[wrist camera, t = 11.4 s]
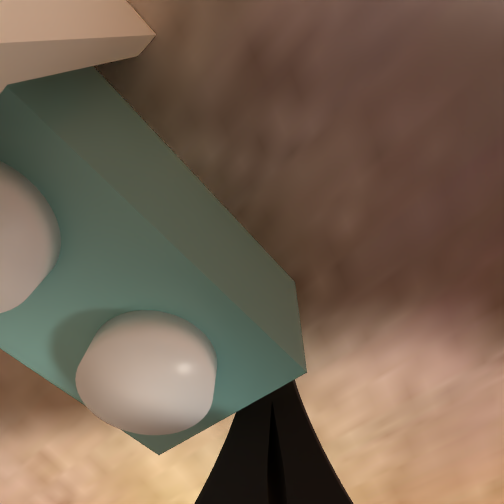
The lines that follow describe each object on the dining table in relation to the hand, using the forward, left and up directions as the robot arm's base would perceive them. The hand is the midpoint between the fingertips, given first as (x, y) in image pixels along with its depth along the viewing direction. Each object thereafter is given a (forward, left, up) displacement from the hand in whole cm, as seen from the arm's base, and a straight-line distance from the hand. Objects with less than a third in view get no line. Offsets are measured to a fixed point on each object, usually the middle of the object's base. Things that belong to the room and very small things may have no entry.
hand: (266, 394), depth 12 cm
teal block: (+6, -1, -1) cm, 6 cm away
